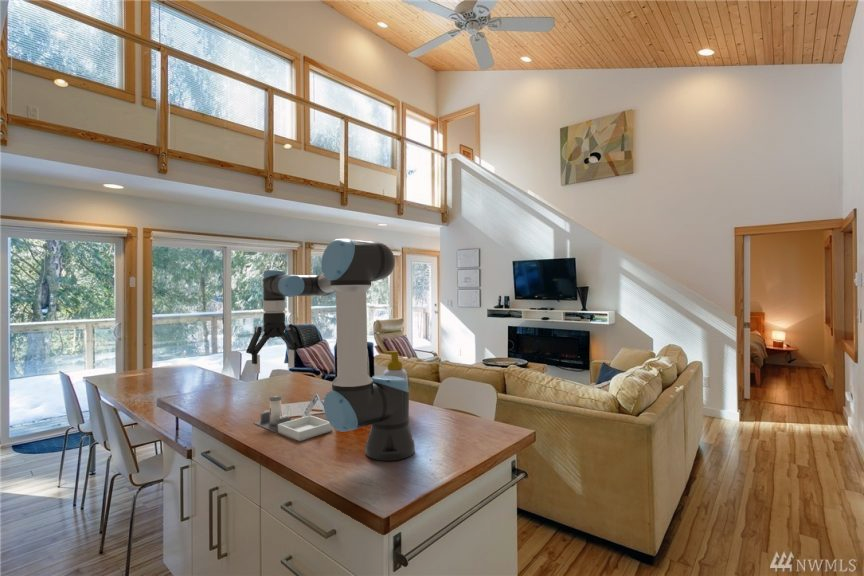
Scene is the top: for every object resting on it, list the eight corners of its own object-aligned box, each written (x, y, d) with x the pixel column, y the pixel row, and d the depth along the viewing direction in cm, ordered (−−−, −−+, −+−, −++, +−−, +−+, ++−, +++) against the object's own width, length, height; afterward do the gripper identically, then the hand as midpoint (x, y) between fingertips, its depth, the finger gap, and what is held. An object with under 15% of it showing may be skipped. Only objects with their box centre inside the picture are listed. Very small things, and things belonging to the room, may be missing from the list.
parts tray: (332, 430, 151) (332, 422, 151) (299, 441, 141) (299, 432, 141) (310, 423, 160) (310, 415, 160) (277, 432, 150) (277, 424, 150)
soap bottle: (384, 411, 174) (384, 349, 174) (406, 411, 174) (406, 349, 174) (382, 418, 165) (382, 353, 165) (406, 418, 166) (405, 353, 165)
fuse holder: (297, 426, 156) (297, 414, 156) (274, 433, 150) (274, 420, 150) (276, 418, 166) (275, 407, 166) (253, 424, 159) (253, 412, 159)
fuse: (283, 423, 158) (283, 396, 158) (273, 426, 155) (272, 398, 155) (277, 421, 161) (277, 394, 161) (267, 424, 158) (266, 396, 158)
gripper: (298, 310, 170) (298, 363, 170) (235, 313, 150) (236, 373, 151) (309, 310, 165) (309, 366, 165) (246, 314, 146) (246, 376, 146)
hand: (274, 369), depth 158 cm, fingers open, 13 cm apart
